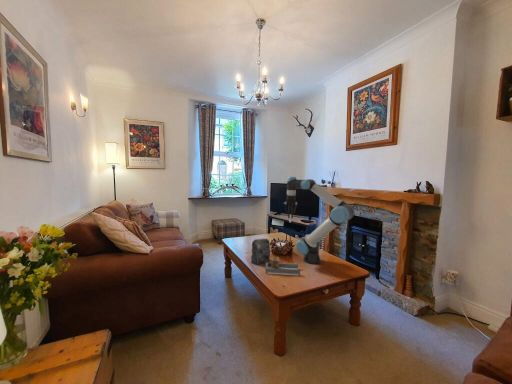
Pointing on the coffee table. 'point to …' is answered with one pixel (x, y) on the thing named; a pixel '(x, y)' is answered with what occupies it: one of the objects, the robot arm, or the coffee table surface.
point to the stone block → (260, 251)
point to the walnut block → (274, 262)
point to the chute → (282, 269)
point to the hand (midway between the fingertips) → (290, 221)
